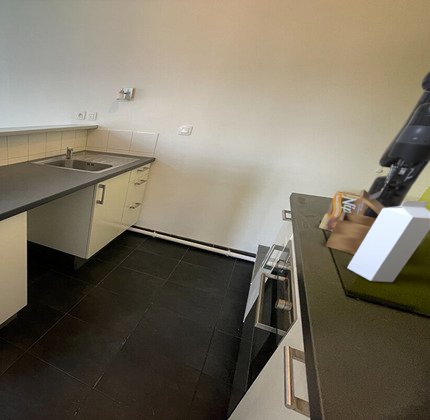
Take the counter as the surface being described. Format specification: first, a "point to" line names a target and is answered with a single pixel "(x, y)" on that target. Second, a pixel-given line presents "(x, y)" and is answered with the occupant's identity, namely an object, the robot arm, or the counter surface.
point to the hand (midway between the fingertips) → (383, 197)
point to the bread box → (349, 232)
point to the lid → (372, 200)
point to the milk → (391, 241)
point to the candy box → (342, 208)
